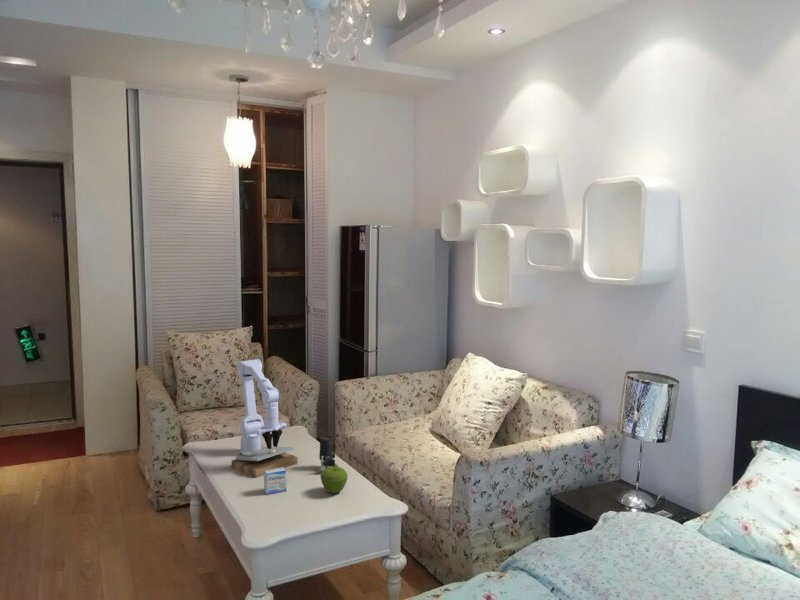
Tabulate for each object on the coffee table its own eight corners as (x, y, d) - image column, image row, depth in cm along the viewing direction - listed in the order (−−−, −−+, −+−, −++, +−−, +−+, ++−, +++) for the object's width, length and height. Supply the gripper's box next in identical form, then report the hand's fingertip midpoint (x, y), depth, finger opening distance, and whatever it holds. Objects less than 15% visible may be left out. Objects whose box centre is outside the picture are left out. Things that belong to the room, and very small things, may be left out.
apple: (316, 489, 243) (316, 465, 242) (340, 484, 248) (340, 460, 247) (327, 499, 234) (327, 474, 233) (352, 494, 239) (352, 469, 238)
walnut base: (231, 467, 267) (231, 460, 266) (272, 453, 283) (272, 447, 283) (256, 477, 255) (256, 470, 255) (297, 463, 271) (297, 456, 271)
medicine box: (267, 495, 238) (266, 473, 237) (264, 491, 242) (263, 469, 241) (286, 491, 241) (286, 470, 241) (283, 487, 245) (283, 466, 244)
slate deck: (235, 459, 267) (234, 453, 267) (270, 448, 281) (269, 443, 282) (257, 461, 256) (256, 455, 256) (293, 449, 270) (292, 443, 270)
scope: (320, 443, 257) (314, 436, 266) (320, 474, 258) (314, 466, 267) (339, 440, 260) (332, 433, 269) (339, 471, 262) (332, 464, 271)
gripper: (263, 422, 255) (263, 453, 256) (290, 415, 266) (291, 445, 267) (253, 419, 260) (254, 450, 261) (280, 412, 271) (281, 441, 272)
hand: (272, 447), depth 264 cm, fingers open, 3 cm apart
